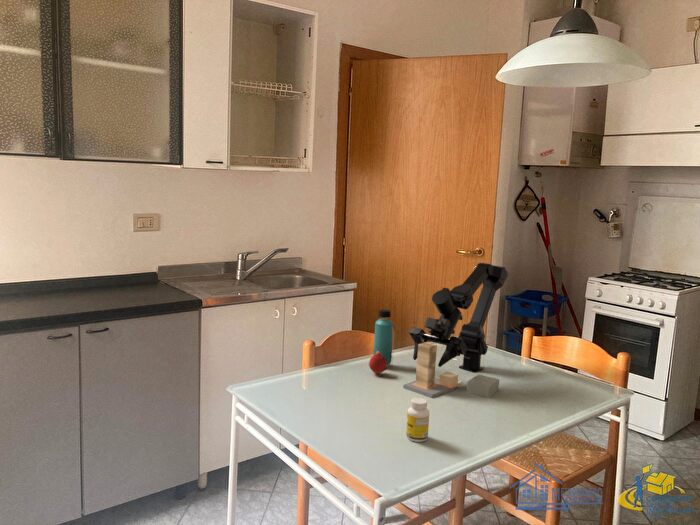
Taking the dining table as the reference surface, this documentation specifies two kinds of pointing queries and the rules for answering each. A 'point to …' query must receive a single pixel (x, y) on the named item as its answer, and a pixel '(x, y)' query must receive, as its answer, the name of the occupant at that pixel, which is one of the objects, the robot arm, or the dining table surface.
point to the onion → (377, 363)
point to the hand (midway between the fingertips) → (426, 362)
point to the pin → (426, 364)
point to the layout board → (436, 385)
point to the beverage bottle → (384, 336)
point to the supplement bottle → (418, 420)
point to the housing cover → (483, 385)
